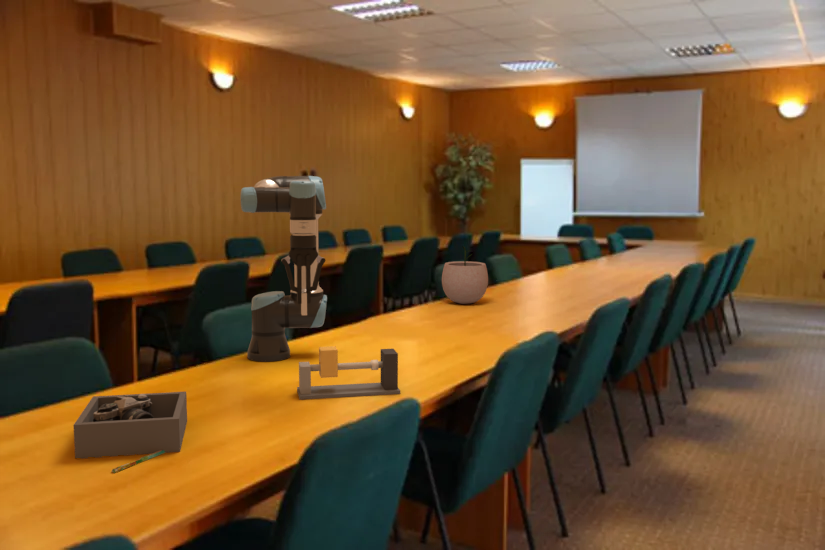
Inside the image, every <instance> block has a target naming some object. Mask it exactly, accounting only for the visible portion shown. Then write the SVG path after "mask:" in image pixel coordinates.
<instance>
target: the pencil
mask: <svg viewBox="0 0 825 550" xmlns="http://www.w3.org/2000/svg"><path fill="white" fill-rule="evenodd" d="M164 454H165V451H164V450H160V451H157V452H155V453H152V454H146V455H144V456H142V457H139V458H138V459H135V460H132V461H130V462H128V463H125V464H123V465H120V466H117V467H114V468H112V469H111V473H112V472H113V473H112V474H117V473H119V472H121V470H122V471H124V470H126V469H129V468H131V467H134V466H136V465H139V464H141V463H143V461H144V462H146V461H148V460H151V459H153V458H155V457H158V456H161V455H164ZM138 463H139V464H138ZM135 464H136V465H135ZM133 465H134V466H133ZM130 466H131V467H130ZM128 467H129V468H128ZM123 469H124V470H123ZM118 471H119V472H118ZM116 472H117V473H116Z"/></svg>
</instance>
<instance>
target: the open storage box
mask: <svg viewBox="0 0 825 550" xmlns="http://www.w3.org/2000/svg"><path fill="white" fill-rule="evenodd" d="M140 394H141V393H136V394H127V395H128V397H132V398H134V399H137V398H138V396H139V395H140ZM145 394H146V395H147V397H149V399H150V402H152V405H151V415H152V416H153V417H154V418H150V419H134V420H117V421H100V422H93V419H94V416H93V414H94V413H95V412H96V411H98V409H99V408H100V407H101V406H102V405H103V404H106V403H109V404H112V403H114V402H115V401H116V399H117V397H121V396H123V395H124V394H117V395H116V394H115V395H97V396H92V397H91V399H90V400H89V401H88V403H87V404H86V406H85V407H84V409H83V410H82V412H81V413H80V415H79V417H78V418H77V419H76V421H75V422H74V423H73V425H72V426H73V439H74V441H73V443H74V459H75V458H81V459H89V458H88V457H95V458H103V457H102V456H110V457H119V456H118V455H124V456H135V454H136V455H137V454H138V455H150V454H152V453H155V452H157V451H160V450H164V451H165V453H167V454H168V453H178V452H179V453H180V452H181V450H182V447H183V445H182V444H183V441H184V436H185V431H186V428H187V424H188V409H187V407H188V404H187V401H188V400H187V391H171V392H152V393H145ZM165 453H164V454H165ZM138 455H137V456H138Z"/></svg>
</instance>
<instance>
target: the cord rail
mask: <svg viewBox="0 0 825 550" xmlns="http://www.w3.org/2000/svg"><path fill="white" fill-rule="evenodd" d="M362 369H364V370H368V369H369V370H371V371H378V370H379V369H380V382H366V383H350V384H349V383H348V384H347V383H346V384H331V385H330V384H329V385H312V376H311V375H312V372H319V371H321V365H320V364H319V363H317V364H311V363H310V361H299V362H298V380H299V381H298V386H297V387H296V390H297V395H298V400H319V399H334V398H336V399H337V398H351V397H368V396H370V397H371V396H385V395H386V396H388V395H389V396H390V395H401V390H400V388H399V384H398V383H399V382H398V381H399V376H398V375H399V353H398V352H397V350H395V349H394V348H380V361H379V360H378V359H370V361H360V362H359V361H357V362H342V363H341V362H339V363H338V371H345V370H347V371H348V370H362Z"/></svg>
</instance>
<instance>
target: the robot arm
mask: <svg viewBox="0 0 825 550" xmlns="http://www.w3.org/2000/svg"><path fill="white" fill-rule="evenodd" d="M325 195H326V194H325V188H324V183H323V178H322V177H320V176H316V175H314V176H313V175H276V176H275V175H274V176H271V177H268V178H263V179H261V180H259V181H258V182H256V183H255V184H254V186H247V187H246V186H245V187H242V188H241V189H240V207H241V211H242V212H244V213H250V214H252V213H253V214H255V213H289V214H288V215H289V232H290V234H291V235H290V237H289V243H290V244H289V248H290V249H289V252H288V255H286V256H285V257H282V258H281V262H282V263H281V264H283V265H284V267H285V271H286V275H287V278H288V282H289V288H290V295H285V292H284V291H282V290H281V291H280V290H275V291H266V292H263V293H258V294H256V295H254V296H253V297H252V298H251V308H250V311H251V339H250V343H249V345H248V349H247V356H246V357H247V359H248V360H250V361H255V362H277V361H282V360H287V359H289V358H290V357H291V349H290V346H289V343H288V339H287V337H286V334H285V333H286V329H300V328H307V329H308V328H309V329H312V328H320V327H323V325H324V323H325V319H326V313H327V311H326V310H327V302H328V295H327V294H324V289H322V287H320V284H319V283H320V278H321V272H322V268H323V266H324V264H325V262H326V257H323V256H321V255H319V219H320V217H321V216H323V210H327V203H326V196H325ZM291 261H292V262H293V264H294V265H293V267H294V278H293V274H292V271H291V266H290V263H291Z"/></svg>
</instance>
